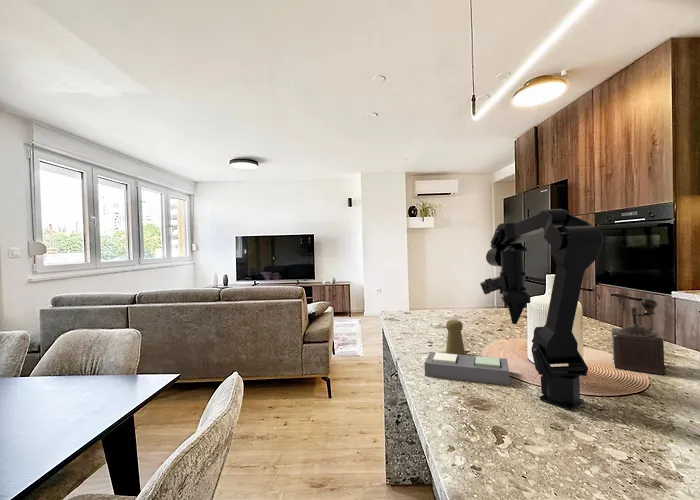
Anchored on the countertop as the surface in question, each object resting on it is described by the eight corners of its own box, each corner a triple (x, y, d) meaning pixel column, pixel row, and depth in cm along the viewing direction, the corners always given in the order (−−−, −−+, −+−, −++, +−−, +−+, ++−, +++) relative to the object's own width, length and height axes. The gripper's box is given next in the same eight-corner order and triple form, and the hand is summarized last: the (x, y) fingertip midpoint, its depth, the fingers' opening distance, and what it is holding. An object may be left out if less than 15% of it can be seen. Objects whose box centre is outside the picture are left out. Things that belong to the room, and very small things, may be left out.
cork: (466, 357, 104) (465, 322, 104) (446, 356, 105) (445, 322, 105) (463, 351, 110) (462, 318, 110) (445, 350, 111) (443, 318, 111)
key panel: (507, 371, 91) (506, 358, 91) (509, 385, 82) (509, 371, 82) (430, 363, 99) (430, 352, 99) (424, 375, 90) (424, 362, 90)
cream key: (457, 365, 95) (457, 354, 95) (455, 373, 89) (455, 361, 89) (436, 363, 97) (435, 352, 97) (433, 370, 91) (432, 359, 91)
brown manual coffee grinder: (669, 376, 84) (667, 306, 84) (614, 368, 90) (611, 303, 91) (659, 359, 96) (657, 298, 97) (611, 353, 103) (609, 296, 103)
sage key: (499, 369, 90) (499, 358, 90) (500, 377, 85) (499, 365, 85) (476, 367, 93) (475, 356, 93) (475, 375, 87) (475, 363, 87)
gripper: (481, 266, 103) (483, 315, 103) (481, 270, 86) (483, 330, 86) (520, 265, 99) (522, 317, 99) (529, 270, 82) (531, 332, 82)
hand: (514, 323), depth 92 cm, fingers closed
